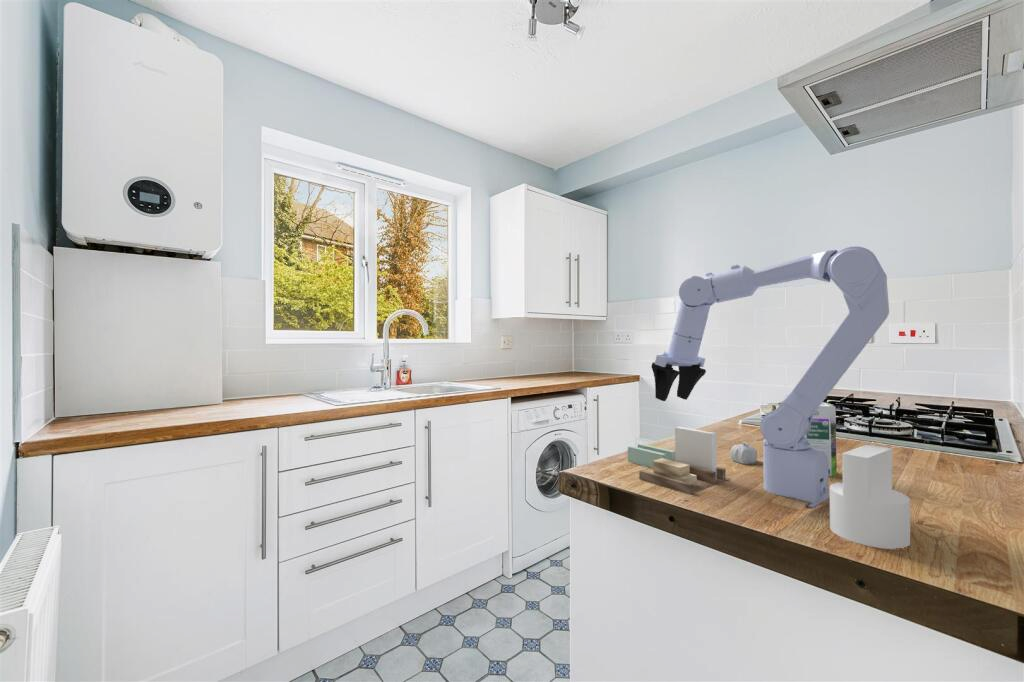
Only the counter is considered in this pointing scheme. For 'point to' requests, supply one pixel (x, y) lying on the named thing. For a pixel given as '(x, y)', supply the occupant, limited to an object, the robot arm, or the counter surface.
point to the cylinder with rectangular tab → (869, 501)
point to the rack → (703, 481)
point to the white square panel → (695, 448)
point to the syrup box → (824, 434)
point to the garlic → (743, 453)
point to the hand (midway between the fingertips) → (671, 398)
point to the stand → (648, 454)
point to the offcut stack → (674, 470)
